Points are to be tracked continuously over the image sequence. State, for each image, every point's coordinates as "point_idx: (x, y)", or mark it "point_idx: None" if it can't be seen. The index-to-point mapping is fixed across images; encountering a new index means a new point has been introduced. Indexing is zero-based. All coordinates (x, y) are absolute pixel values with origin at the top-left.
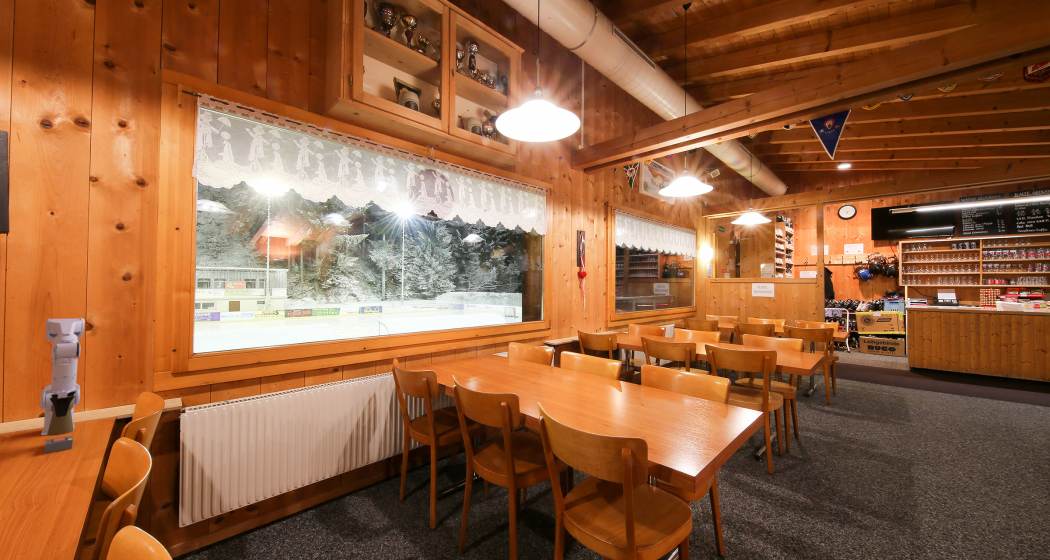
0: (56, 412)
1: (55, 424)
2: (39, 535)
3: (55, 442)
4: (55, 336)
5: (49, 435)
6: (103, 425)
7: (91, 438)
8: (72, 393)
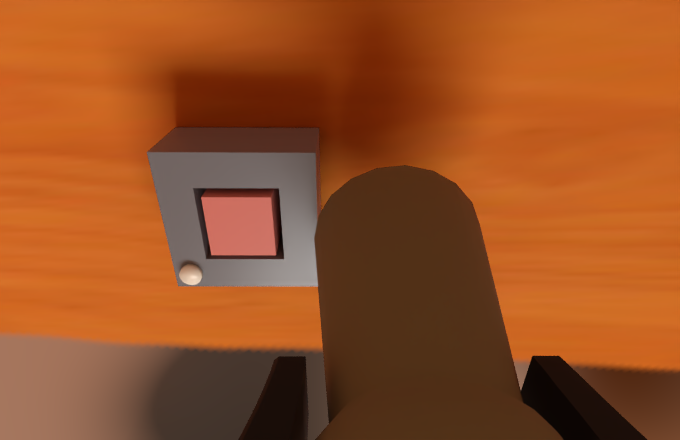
0: (253, 423)
1: (329, 275)
2: None
3: (170, 207)
4: None
5: (347, 182)
6: (675, 359)
7: None
8: None
